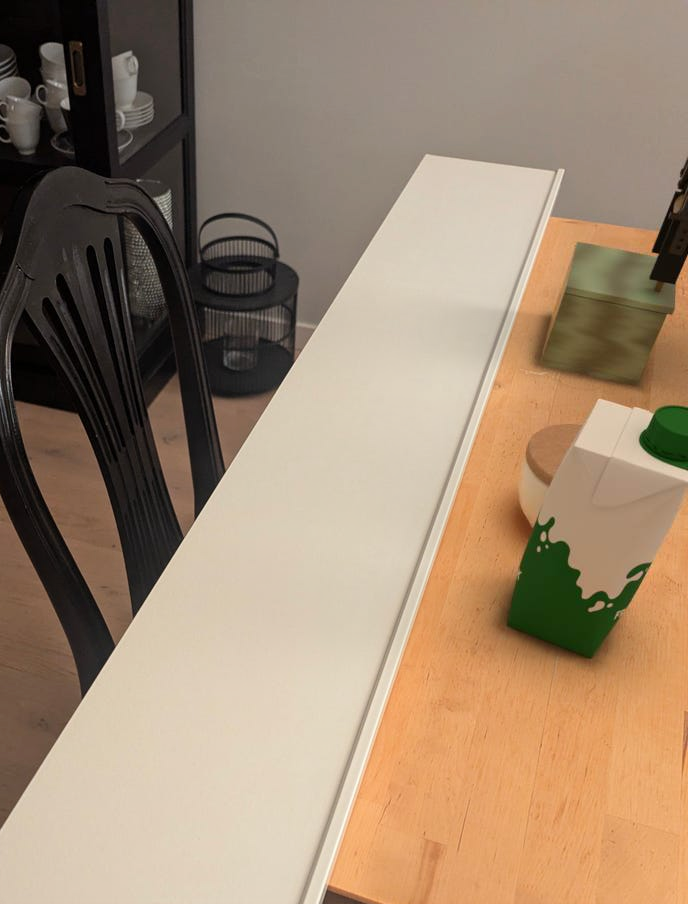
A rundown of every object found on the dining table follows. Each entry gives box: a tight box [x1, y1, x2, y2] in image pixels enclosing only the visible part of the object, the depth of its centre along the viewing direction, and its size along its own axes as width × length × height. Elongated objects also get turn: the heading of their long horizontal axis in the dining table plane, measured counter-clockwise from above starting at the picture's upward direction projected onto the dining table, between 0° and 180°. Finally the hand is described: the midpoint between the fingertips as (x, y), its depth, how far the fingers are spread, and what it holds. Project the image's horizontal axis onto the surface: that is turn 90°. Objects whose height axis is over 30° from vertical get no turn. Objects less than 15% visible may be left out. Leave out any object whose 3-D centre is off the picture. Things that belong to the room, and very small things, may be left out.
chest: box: [539, 248, 668, 387], centre depth 107 cm, size 11×13×9 cm
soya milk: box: [506, 398, 688, 659], centre depth 70 cm, size 9×9×20 cm
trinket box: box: [517, 423, 583, 530], centre depth 83 cm, size 11×11×9 cm
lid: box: [564, 194, 685, 316], centre depth 101 cm, size 12×13×9 cm
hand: (663, 266), depth 102 cm, fingers closed on lid, 7 cm apart
